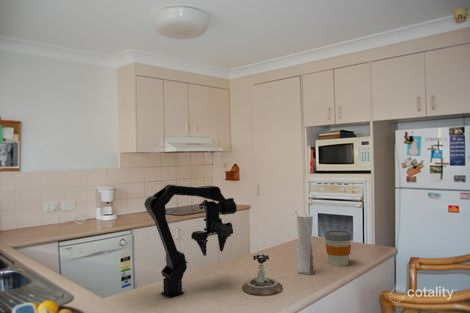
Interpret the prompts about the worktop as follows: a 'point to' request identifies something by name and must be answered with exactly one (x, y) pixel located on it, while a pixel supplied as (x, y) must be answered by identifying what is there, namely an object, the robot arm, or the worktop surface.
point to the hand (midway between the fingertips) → (213, 253)
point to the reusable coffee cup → (338, 247)
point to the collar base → (262, 288)
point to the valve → (261, 271)
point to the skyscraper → (305, 244)
